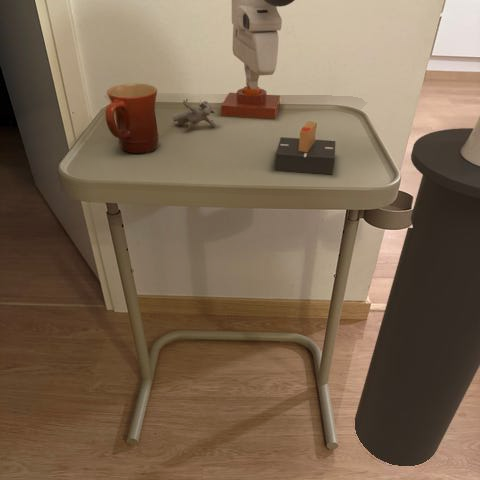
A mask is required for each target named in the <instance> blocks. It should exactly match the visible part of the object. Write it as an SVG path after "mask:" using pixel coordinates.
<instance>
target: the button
mask: <svg viewBox="0 0 480 480" xmlns="http://www.w3.org/2000/svg"><path fill="white" fill-rule="evenodd" d="M243 88H244V93H245V94H259V93H260V89H261V88H260V87H259V86H258V87H257V89H252V90H251V89H250V88H249V87H248V86H247V85H245V86H243Z"/></svg>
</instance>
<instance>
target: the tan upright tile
mask: <svg viewBox="0 0 480 480" xmlns="http://www.w3.org/2000/svg"><path fill="white" fill-rule="evenodd" d="M316 132H317V122H316V121H307V122H306V123H305V124H304V125H303V126H302V128H301V129H300V130H299V150H298V151H301V152H308V151H309V149H310V148H311V147H312V145H313V144H314V142H315V140H316V134H317V133H316Z"/></svg>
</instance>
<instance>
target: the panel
mask: <svg viewBox="0 0 480 480" xmlns="http://www.w3.org/2000/svg"><path fill="white" fill-rule="evenodd" d="M299 139H300V137H283V136H282V137H280V139H279V142H278V145H277V149H276V154H275V161H274V162H275V165H274V171H277V172H278V171H280V172H290V173H302V174H303V173H304V174H314V175H315V174H317V175H329V176H333V173H334V166H335V160H336V140H328V139H315V142H314V144H313V145H312V147H311V148H310V149H309V151H308V152H301V151H298V150H299Z"/></svg>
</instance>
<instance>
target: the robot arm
mask: <svg viewBox="0 0 480 480" xmlns="http://www.w3.org/2000/svg"><path fill="white" fill-rule="evenodd" d="M295 1H296V0H231V24H232V25H233V26H232V54H233V56H234V57H236V58H237V59H238V60H239V61H241V62H242V63H243V68H244V73H245V86H248V87H249V88H250V89H251V90H252V89H257V87H259V86H258V85H259V78H260V76H272V75H274V73H275V71H276V68H277V63H278V52H279V33H278V32H279V31H281V30H282V24H283V23H282V22H283V20H282V17H281V14H280V13H279V11H278V8H279V7H280V8H281V7H286V6H289V5H290V4H292V3H293V2H295ZM473 128H474V129H473V131H472V133H471V134H470V136H469V138H468V140H467V141H466V143H465V144H464V146H463V147H462V149H461V151H460V153H461V155H462V156H463V157H464V158H465V159H466V160H467V161H469V162H471V163H473V164H475V165H477V166H480V115H479V116H478V118H477V121H476V122H475V125H474V127H473Z"/></svg>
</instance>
